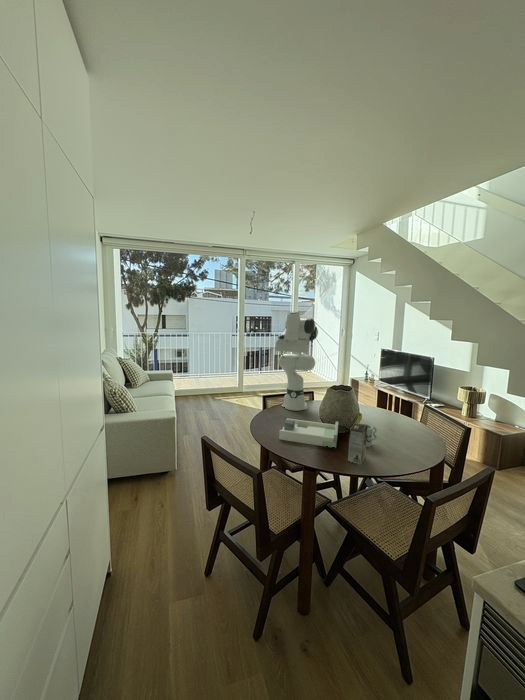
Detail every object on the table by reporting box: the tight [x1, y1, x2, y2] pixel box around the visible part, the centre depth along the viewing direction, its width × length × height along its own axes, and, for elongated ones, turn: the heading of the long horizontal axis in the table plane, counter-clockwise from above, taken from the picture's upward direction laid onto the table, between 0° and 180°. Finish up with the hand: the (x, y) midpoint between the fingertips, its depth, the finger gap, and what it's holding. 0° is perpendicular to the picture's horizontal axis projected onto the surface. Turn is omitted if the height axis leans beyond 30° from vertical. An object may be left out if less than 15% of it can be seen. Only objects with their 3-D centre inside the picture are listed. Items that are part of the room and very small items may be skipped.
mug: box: [359, 422, 378, 448], centre depth 162 cm, size 12×9×10 cm
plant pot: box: [351, 411, 363, 428], centre depth 183 cm, size 10×10×10 cm
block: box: [283, 419, 295, 430], centre depth 173 cm, size 5×5×4 cm
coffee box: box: [347, 424, 368, 465], centre depth 144 cm, size 9×6×16 cm
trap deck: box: [278, 417, 339, 449], centre depth 170 cm, size 20×30×7 cm, turn 74°
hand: (290, 359), depth 192 cm, fingers open, 8 cm apart
